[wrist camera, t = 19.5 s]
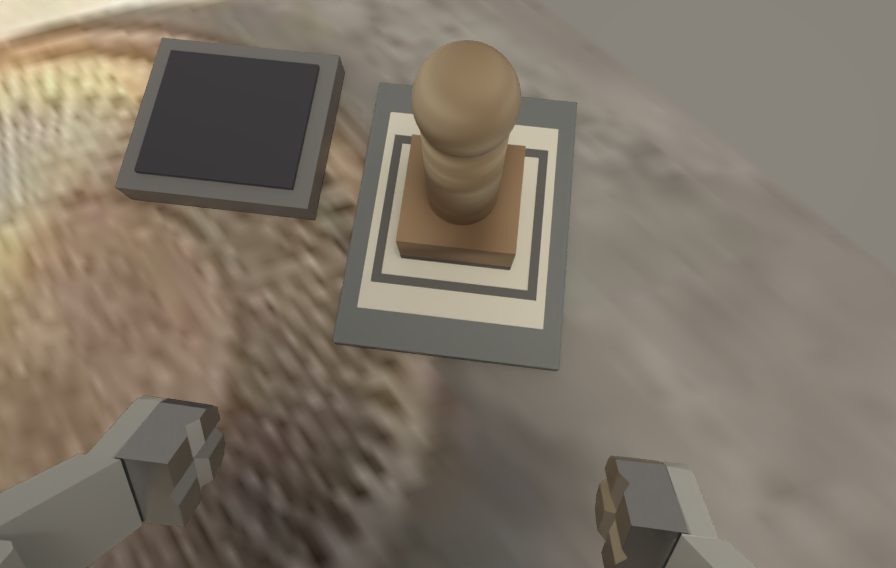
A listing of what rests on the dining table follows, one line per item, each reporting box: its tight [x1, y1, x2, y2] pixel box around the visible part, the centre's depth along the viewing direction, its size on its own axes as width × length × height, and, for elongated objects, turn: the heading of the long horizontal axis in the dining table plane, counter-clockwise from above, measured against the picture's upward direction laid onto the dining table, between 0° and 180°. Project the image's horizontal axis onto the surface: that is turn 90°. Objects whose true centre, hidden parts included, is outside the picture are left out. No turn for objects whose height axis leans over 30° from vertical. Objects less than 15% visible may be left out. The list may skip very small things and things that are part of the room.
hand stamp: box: [396, 40, 526, 270], centre depth 23 cm, size 6×6×13 cm
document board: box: [333, 83, 577, 371], centre depth 30 cm, size 12×16×1 cm
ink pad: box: [115, 38, 345, 220], centre depth 31 cm, size 11×10×2 cm
